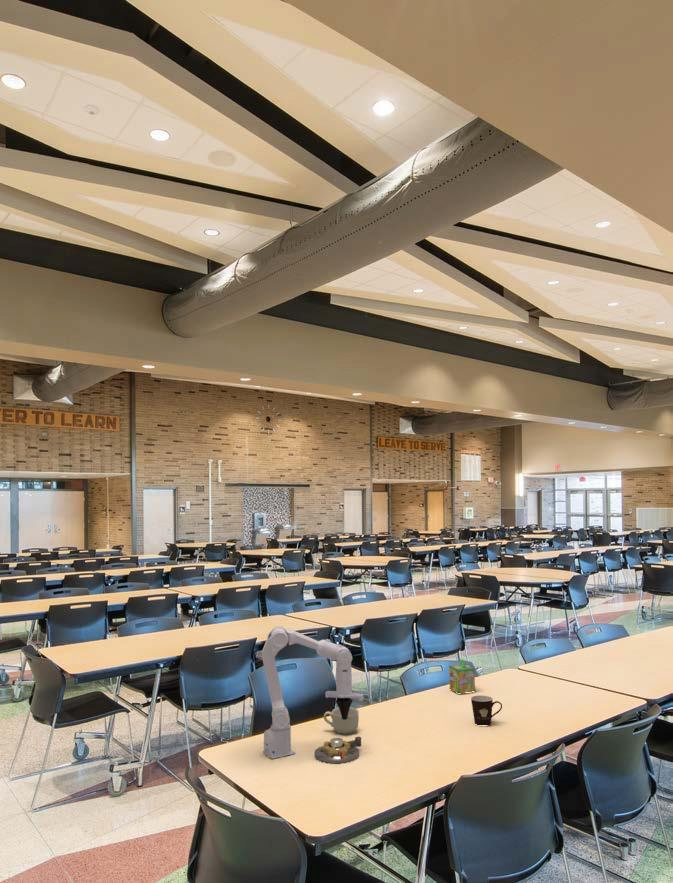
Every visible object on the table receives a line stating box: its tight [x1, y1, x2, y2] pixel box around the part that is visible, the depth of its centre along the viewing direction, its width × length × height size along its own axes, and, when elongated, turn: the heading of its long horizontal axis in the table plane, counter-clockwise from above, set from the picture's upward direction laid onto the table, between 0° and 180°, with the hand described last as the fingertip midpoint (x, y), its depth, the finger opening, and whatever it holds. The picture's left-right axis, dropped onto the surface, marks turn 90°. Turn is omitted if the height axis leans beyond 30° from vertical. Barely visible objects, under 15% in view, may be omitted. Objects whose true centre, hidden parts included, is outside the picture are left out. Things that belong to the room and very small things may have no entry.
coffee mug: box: [470, 694, 503, 726], centre depth 262 cm, size 12×9×10 cm
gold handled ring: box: [322, 736, 362, 757], centre depth 233 cm, size 15×9×3 cm, turn 119°
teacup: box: [323, 706, 360, 735], centre depth 257 cm, size 14×11×8 cm
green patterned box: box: [448, 658, 476, 693], centre depth 309 cm, size 9×9×15 cm
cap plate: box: [314, 737, 360, 765], centre depth 232 cm, size 16×16×5 cm
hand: (344, 718), depth 240 cm, fingers closed
